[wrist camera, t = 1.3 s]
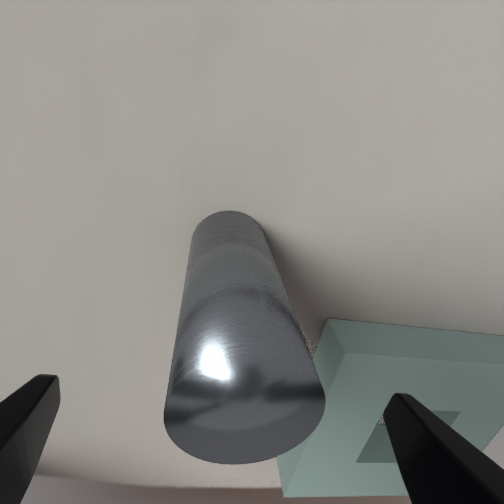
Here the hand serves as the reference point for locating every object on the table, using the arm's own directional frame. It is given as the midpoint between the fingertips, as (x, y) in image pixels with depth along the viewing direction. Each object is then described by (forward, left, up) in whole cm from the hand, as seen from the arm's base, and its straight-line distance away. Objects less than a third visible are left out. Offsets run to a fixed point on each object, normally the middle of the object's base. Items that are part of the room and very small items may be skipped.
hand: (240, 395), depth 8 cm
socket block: (-11, -14, -9) cm, 20 cm away
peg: (0, 0, -9) cm, 9 cm away
